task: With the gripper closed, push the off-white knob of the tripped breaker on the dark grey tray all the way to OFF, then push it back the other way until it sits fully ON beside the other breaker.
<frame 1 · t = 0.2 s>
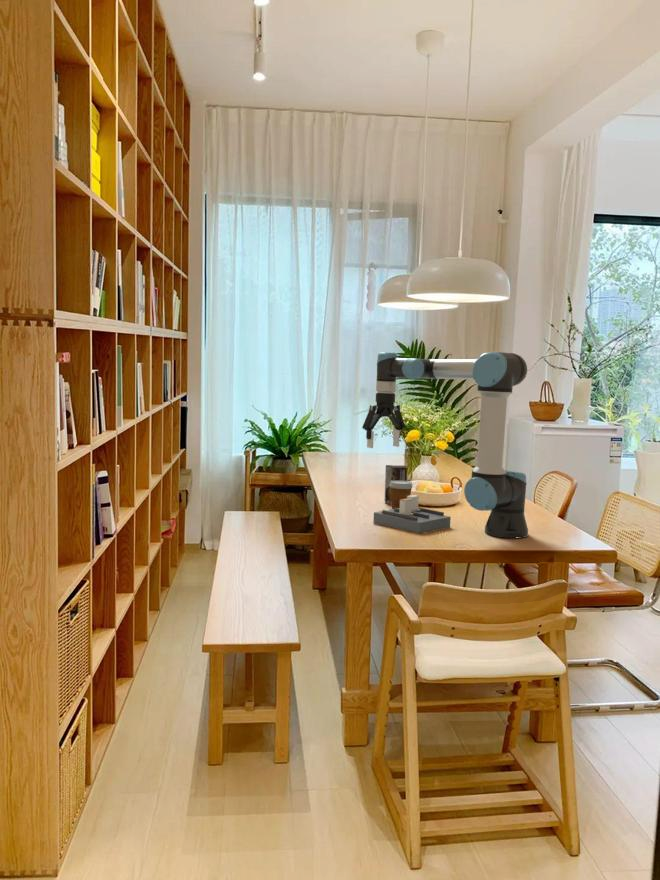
hand: (383, 447, 294), 27 cm above the table, tool pointing down, fingers open, 13 cm apart
disposable coffee cup: (399, 511, 307), on the table
dark grey tray: (411, 525, 281), on the table
tripped breaker slider: (405, 507, 278), point 7 cm above the table, slide at 4.0 cm
coffee box: (394, 503, 325), on the table
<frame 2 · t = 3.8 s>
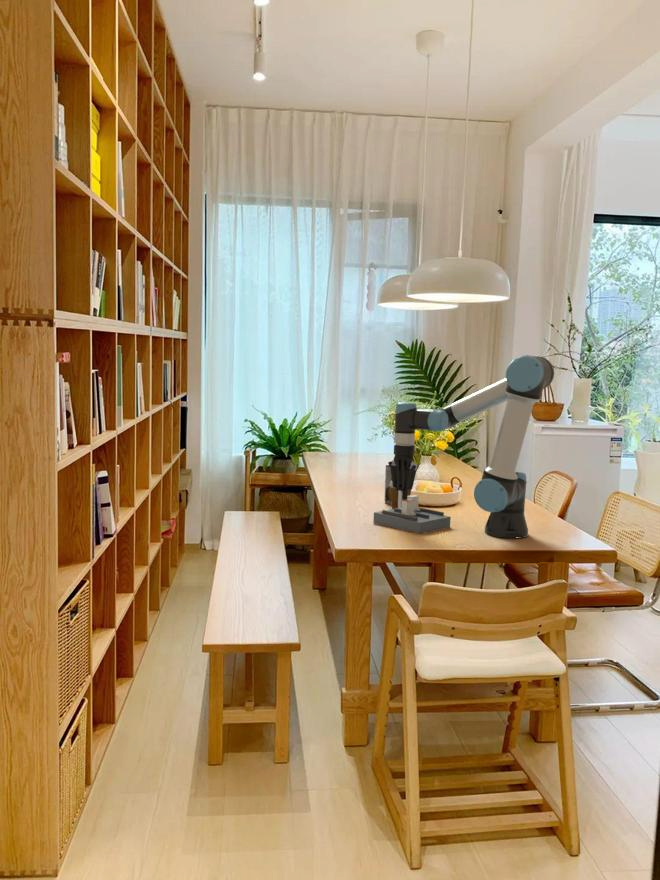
hand: (401, 507, 279), 7 cm above the table, tool pointing down, fingers closed
tripped breaker slider: (407, 507, 277), point 7 cm above the table, slide at 3.0 cm, touching gripper
everything else where it was.
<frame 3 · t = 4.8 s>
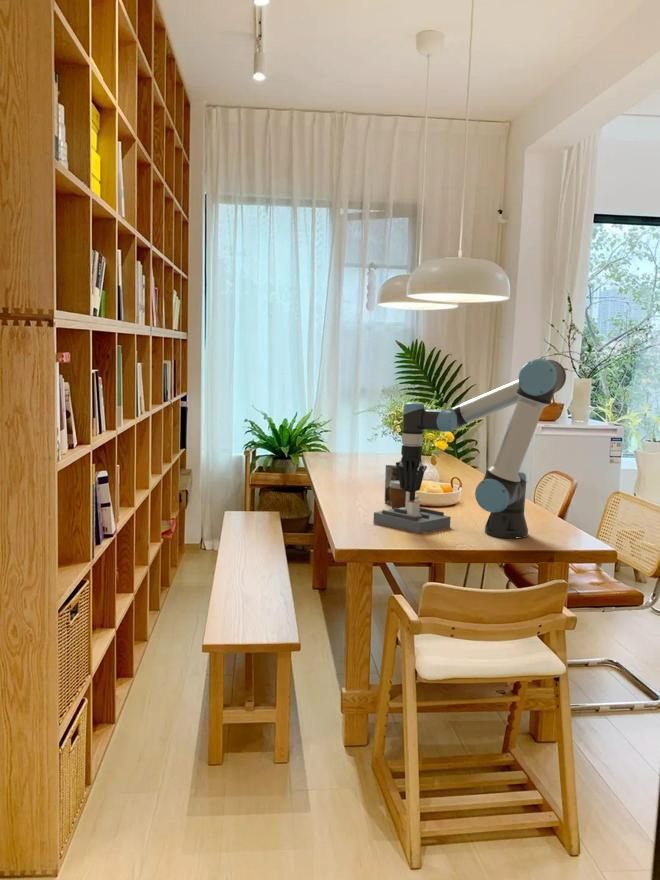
hand: (409, 508, 277), 7 cm above the table, tool pointing down, fingers closed
tripped breaker slider: (413, 508, 275), point 7 cm above the table, slide at 0.4 cm, touching gripper
everything else where it was.
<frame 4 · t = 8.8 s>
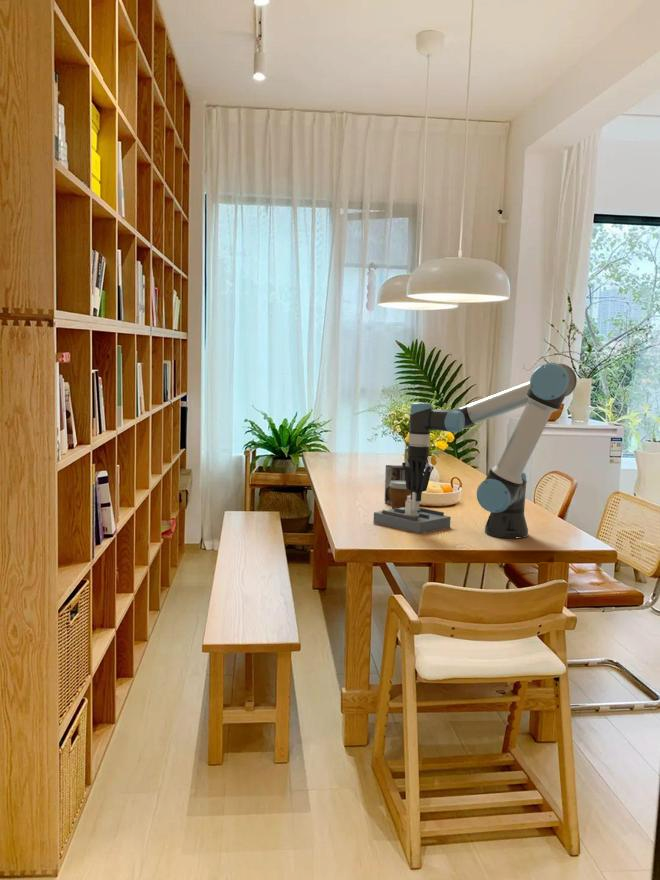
hand: (415, 509, 274), 7 cm above the table, tool pointing down, fingers closed
tripped breaker slider: (411, 508, 276), point 7 cm above the table, slide at 1.3 cm, touching gripper
everything else where it was.
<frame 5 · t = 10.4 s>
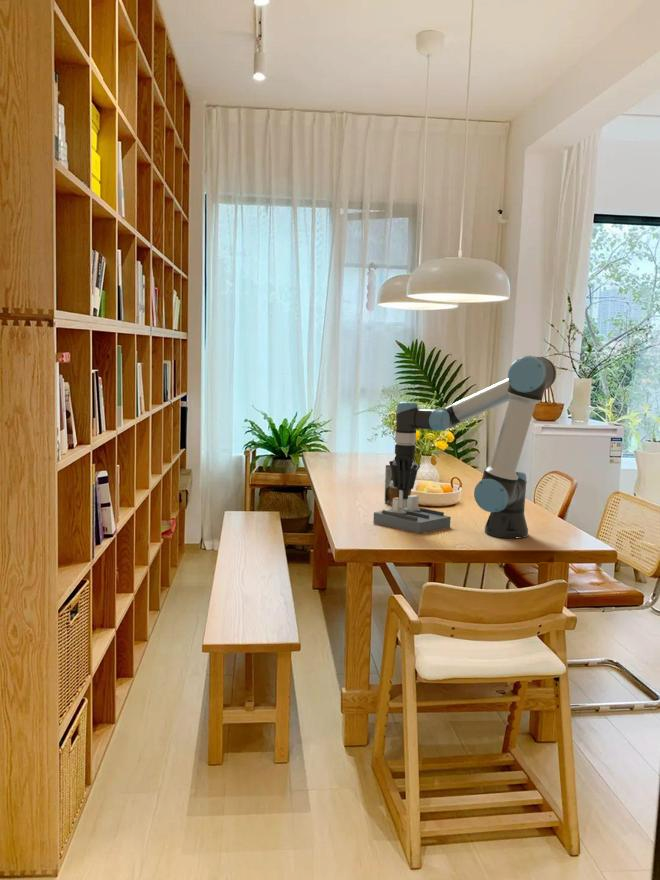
hand: (402, 507, 279), 7 cm above the table, tool pointing down, fingers closed
tripped breaker slider: (398, 505, 280), point 7 cm above the table, slide at 7.5 cm, touching gripper
everything else where it was.
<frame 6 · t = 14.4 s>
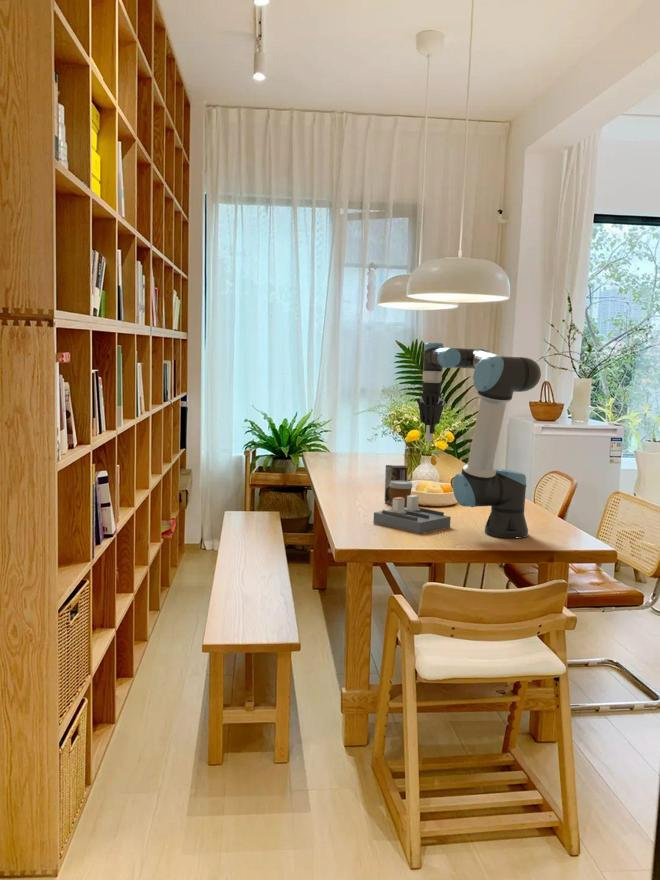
hand: (429, 441, 300), 29 cm above the table, tool pointing down, fingers closed
tripped breaker slider: (398, 505, 280), point 7 cm above the table, slide at 7.5 cm
everything else where it was.
at the end: tripped breaker slider slide at 7.5 cm; disposable coffee cup moved 0.2 cm from its start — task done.
